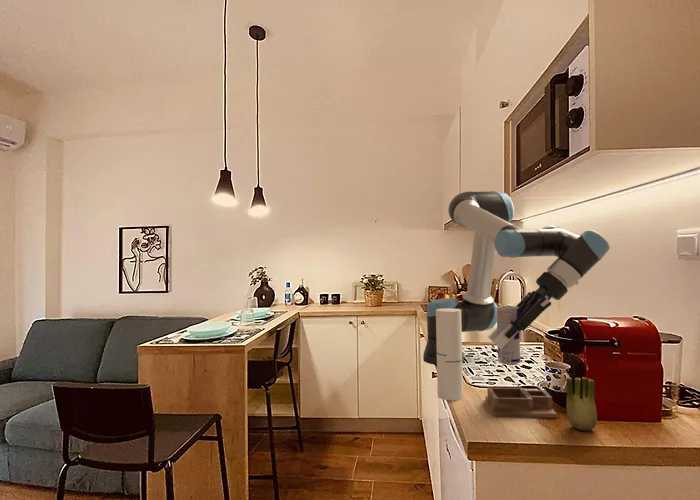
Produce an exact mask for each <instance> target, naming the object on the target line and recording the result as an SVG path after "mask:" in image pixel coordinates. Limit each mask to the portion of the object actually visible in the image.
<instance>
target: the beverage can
mask: <svg viewBox="0 0 700 500" xmlns="http://www.w3.org/2000/svg"><path fill="white" fill-rule="evenodd" d="M518 308H519V307H517V306H516V305H497V322H496V329H497V336H498V335H499V334H500V333H501V332H502V331H503V330H504V329H505V328H506V327H507V326H508V325H509V324H511V323H510V321H513V322H514V321H515V320H516V319H517V318H518V316H519V310H518ZM511 325H512V324H511ZM512 326H513V325H512ZM520 332H521V331H519V332H518V333H517V334H516V335H515V336H514V337H513V338H512V339H511V340H510V341H509V342H508V343H507V344H506V345H505V346H504V347H503V348H502V349H500V348H499V347H498V346H497V361H498V363H500V364H502V365H507V366H508V365H509V366H515V365H518V364H520V363H521V343H520V341H521V338H520V337H521V335H520Z"/></svg>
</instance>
